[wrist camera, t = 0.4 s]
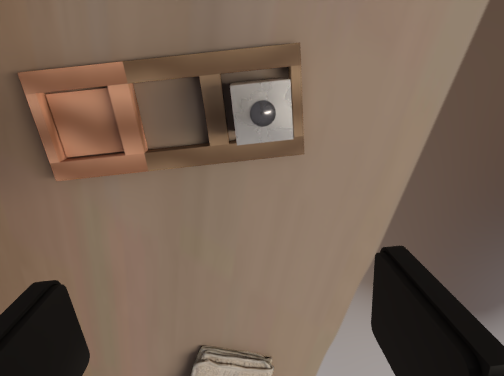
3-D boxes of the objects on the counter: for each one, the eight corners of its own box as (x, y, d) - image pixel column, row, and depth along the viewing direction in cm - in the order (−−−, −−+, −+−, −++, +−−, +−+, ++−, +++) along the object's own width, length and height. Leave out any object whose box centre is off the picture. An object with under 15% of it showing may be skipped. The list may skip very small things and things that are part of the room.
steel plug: (231, 82, 31) (229, 85, 24) (279, 77, 31) (290, 79, 25) (237, 130, 33) (236, 145, 26) (282, 126, 33) (293, 139, 26)
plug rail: (27, 72, 30) (17, 72, 28) (297, 44, 30) (300, 42, 29) (63, 176, 34) (56, 181, 32) (301, 150, 34) (304, 154, 33)
